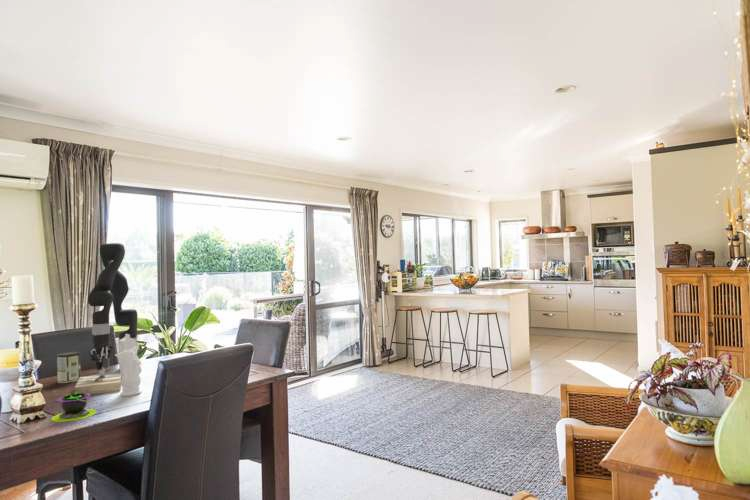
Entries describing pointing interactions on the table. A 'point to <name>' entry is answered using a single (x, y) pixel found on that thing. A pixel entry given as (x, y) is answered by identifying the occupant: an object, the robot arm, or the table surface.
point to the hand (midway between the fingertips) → (101, 368)
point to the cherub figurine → (130, 372)
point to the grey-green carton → (68, 367)
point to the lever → (103, 368)
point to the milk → (126, 347)
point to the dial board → (99, 384)
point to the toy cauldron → (73, 408)
